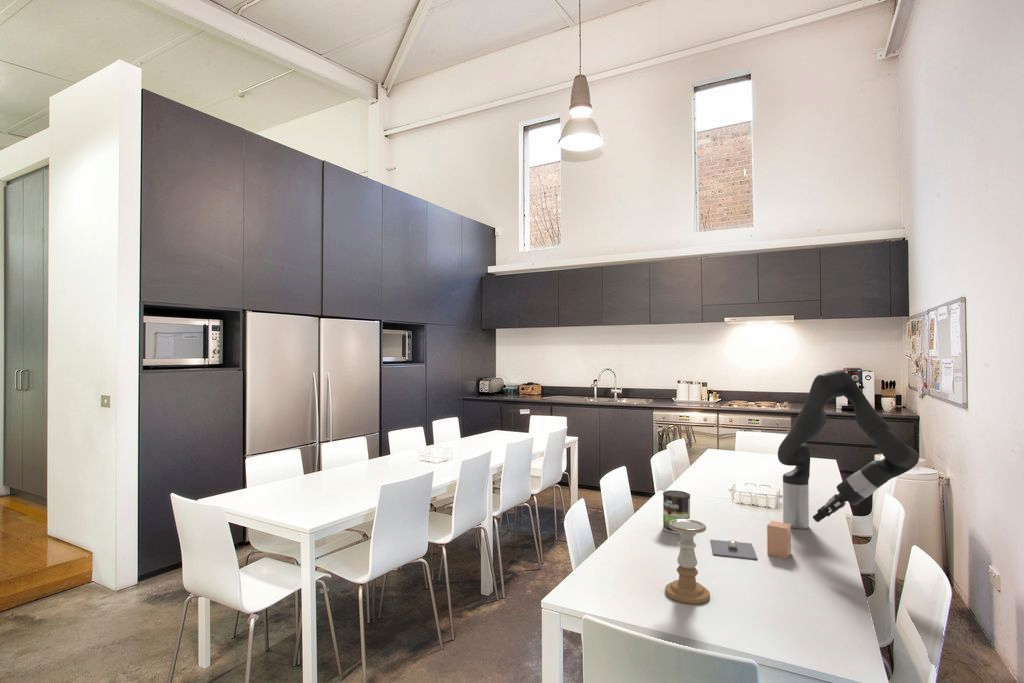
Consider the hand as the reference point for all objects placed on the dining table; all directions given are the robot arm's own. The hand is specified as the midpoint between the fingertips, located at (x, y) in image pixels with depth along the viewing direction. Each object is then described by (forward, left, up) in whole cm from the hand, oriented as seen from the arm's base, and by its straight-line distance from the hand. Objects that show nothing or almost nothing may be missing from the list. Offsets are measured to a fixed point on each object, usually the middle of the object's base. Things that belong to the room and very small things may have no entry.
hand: (817, 516), depth 180 cm
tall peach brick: (-4, -11, -15) cm, 19 cm away
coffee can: (-20, -45, -15) cm, 52 cm away
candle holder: (+39, -42, -15) cm, 59 cm away
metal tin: (-3, -26, -15) cm, 30 cm away
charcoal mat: (-3, -26, -15) cm, 30 cm away
